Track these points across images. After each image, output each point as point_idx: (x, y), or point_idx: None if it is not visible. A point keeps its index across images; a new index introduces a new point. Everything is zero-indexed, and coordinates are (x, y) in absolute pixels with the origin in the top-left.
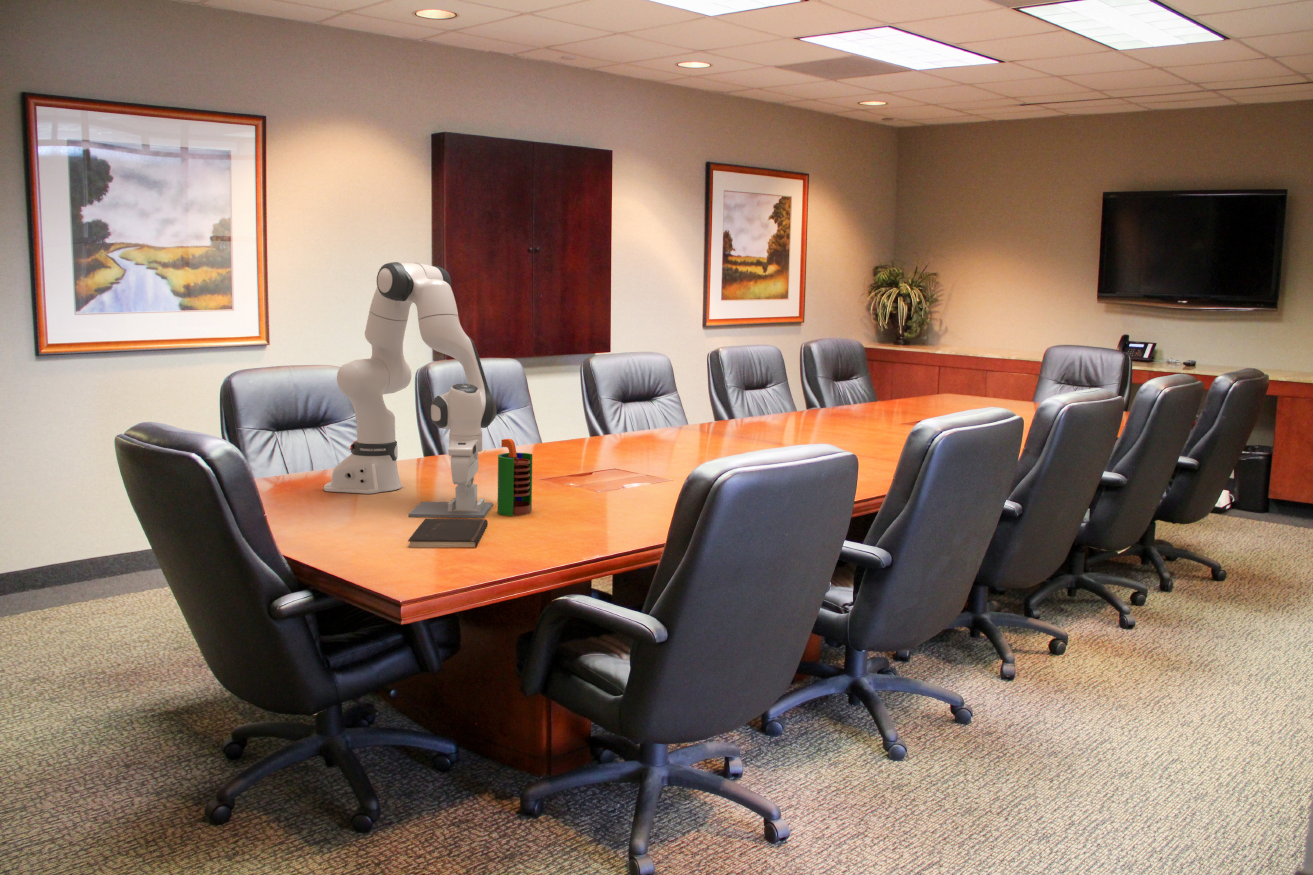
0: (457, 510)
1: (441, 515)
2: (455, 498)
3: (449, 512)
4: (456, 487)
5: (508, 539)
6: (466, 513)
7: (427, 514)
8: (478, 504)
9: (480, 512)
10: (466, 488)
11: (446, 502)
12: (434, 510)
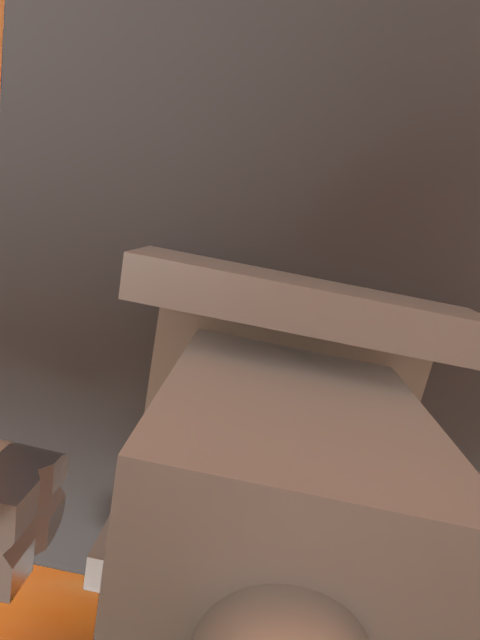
0: (153, 344)
1: (2, 177)
2: (468, 353)
3: (94, 261)
4: (134, 475)
5: None
6: (44, 420)
7: (7, 8)
8: (85, 577)
9: (84, 535)
10: (97, 634)
11: None
12: (205, 88)
